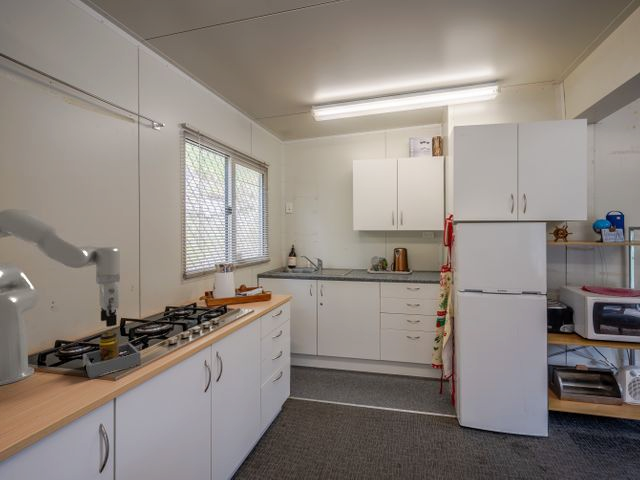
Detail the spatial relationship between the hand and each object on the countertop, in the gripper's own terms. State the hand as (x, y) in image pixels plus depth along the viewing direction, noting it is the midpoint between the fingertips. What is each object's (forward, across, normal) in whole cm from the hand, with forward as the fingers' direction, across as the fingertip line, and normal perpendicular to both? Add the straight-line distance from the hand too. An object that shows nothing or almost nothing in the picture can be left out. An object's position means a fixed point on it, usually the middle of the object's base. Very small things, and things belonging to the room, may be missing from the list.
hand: (108, 323), depth 120 cm
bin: (+17, -1, -1) cm, 17 cm away
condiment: (+17, 0, -1) cm, 17 cm away
